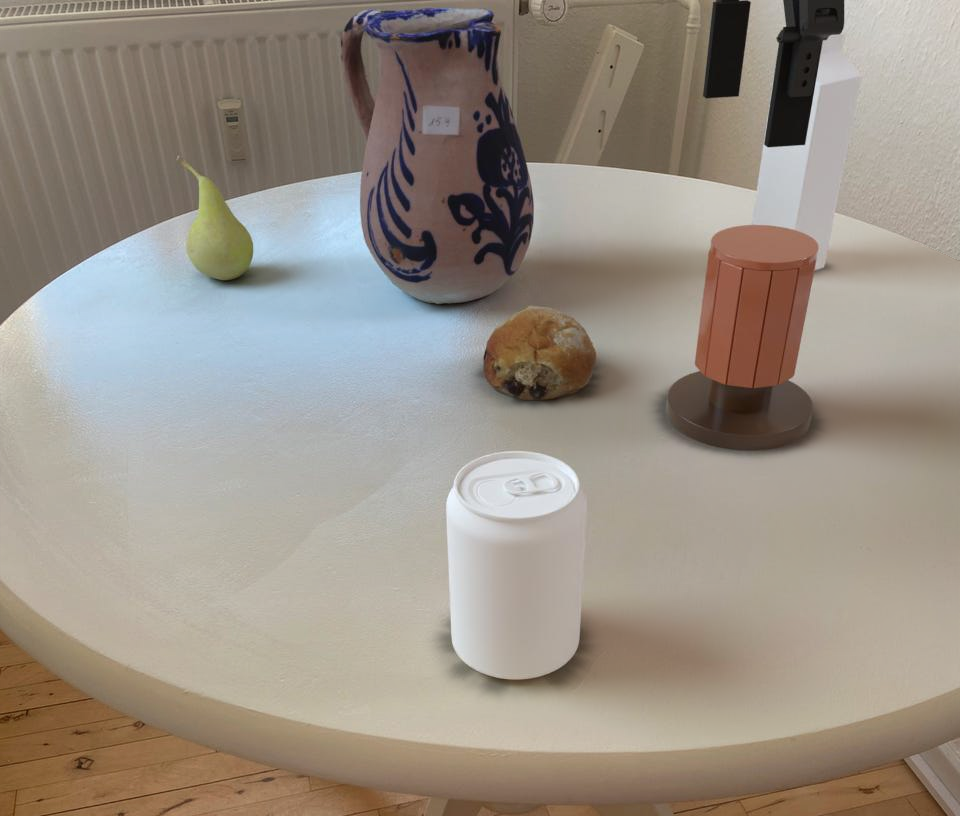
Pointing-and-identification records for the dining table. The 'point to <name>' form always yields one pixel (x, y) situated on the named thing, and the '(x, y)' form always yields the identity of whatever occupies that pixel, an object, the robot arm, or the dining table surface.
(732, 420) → the towel holder
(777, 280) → the ribbed orange cylinder
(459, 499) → the beverage can
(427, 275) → the ceramic pitcher
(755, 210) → the milk
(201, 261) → the fruit
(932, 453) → the dining table surface
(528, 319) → the bread roll
